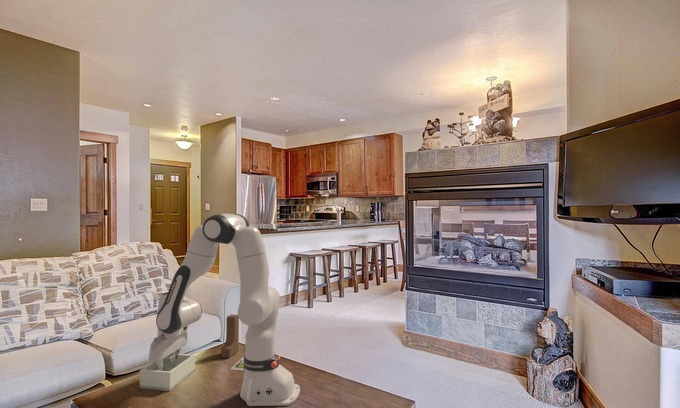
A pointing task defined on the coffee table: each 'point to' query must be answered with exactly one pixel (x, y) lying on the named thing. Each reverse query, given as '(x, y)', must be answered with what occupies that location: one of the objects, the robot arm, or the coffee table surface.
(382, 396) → the coffee table surface
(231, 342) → the wooden block
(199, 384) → the coffee table surface
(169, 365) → the metal peg
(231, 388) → the coffee table surface
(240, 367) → the handheld gaming device
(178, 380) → the walled box
